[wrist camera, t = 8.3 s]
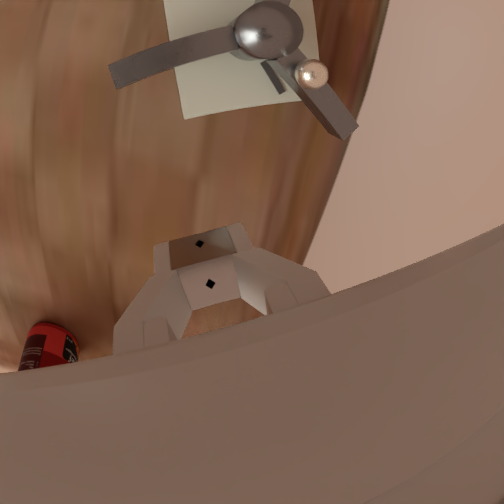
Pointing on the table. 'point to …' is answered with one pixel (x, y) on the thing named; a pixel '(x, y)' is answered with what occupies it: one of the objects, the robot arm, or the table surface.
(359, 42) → the table surface
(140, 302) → the robot arm
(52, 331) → the canned food
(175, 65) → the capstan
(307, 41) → the stand plate
